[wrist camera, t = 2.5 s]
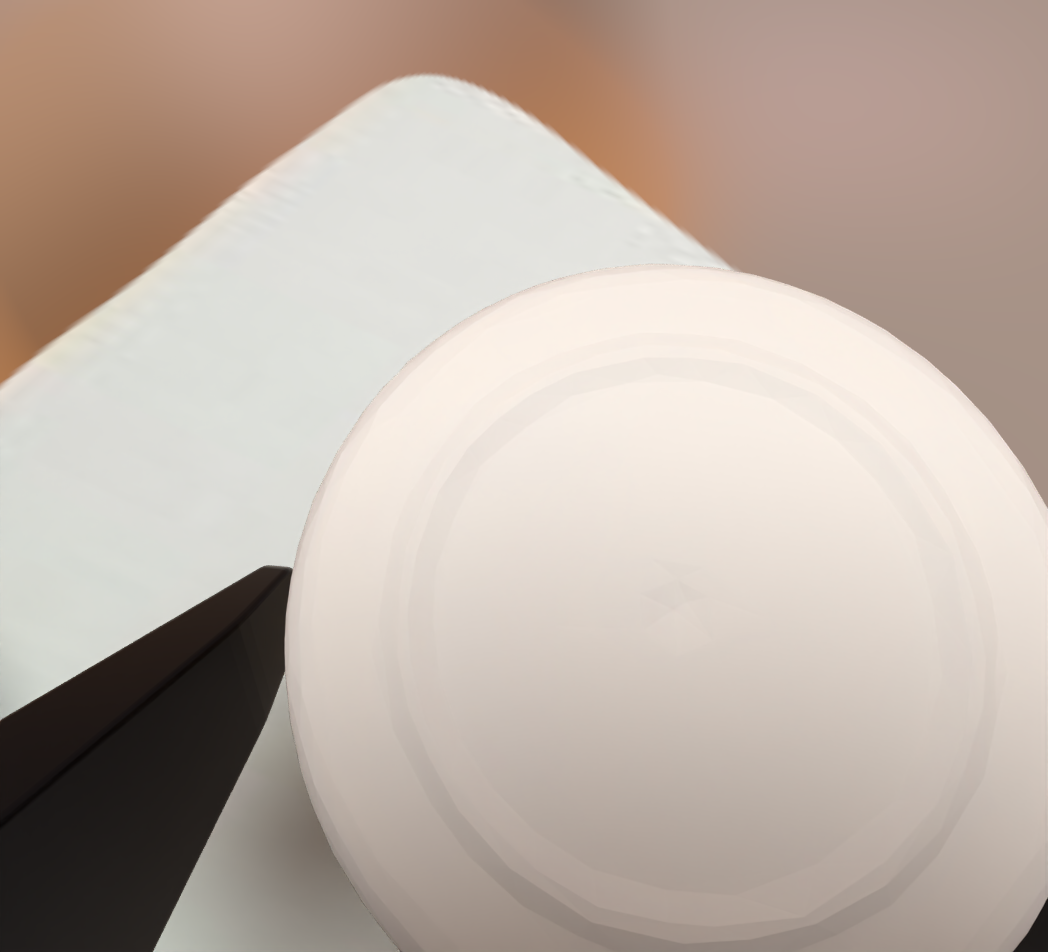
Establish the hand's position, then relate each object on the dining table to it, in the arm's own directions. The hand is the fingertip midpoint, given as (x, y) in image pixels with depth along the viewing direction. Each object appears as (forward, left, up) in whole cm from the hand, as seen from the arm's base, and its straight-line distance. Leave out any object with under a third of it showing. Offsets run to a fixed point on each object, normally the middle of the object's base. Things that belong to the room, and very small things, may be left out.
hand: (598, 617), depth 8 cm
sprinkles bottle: (0, 0, -8) cm, 8 cm away
